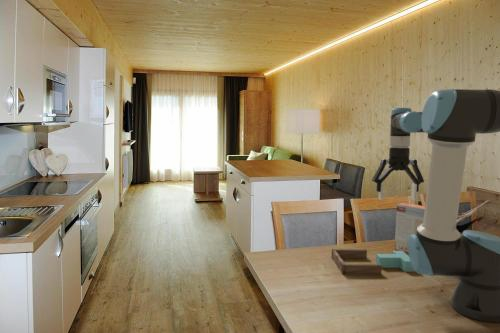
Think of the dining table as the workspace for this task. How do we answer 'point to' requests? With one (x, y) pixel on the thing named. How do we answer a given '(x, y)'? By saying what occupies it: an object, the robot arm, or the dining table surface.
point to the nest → (354, 268)
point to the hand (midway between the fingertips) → (397, 199)
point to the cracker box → (407, 224)
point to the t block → (395, 261)
